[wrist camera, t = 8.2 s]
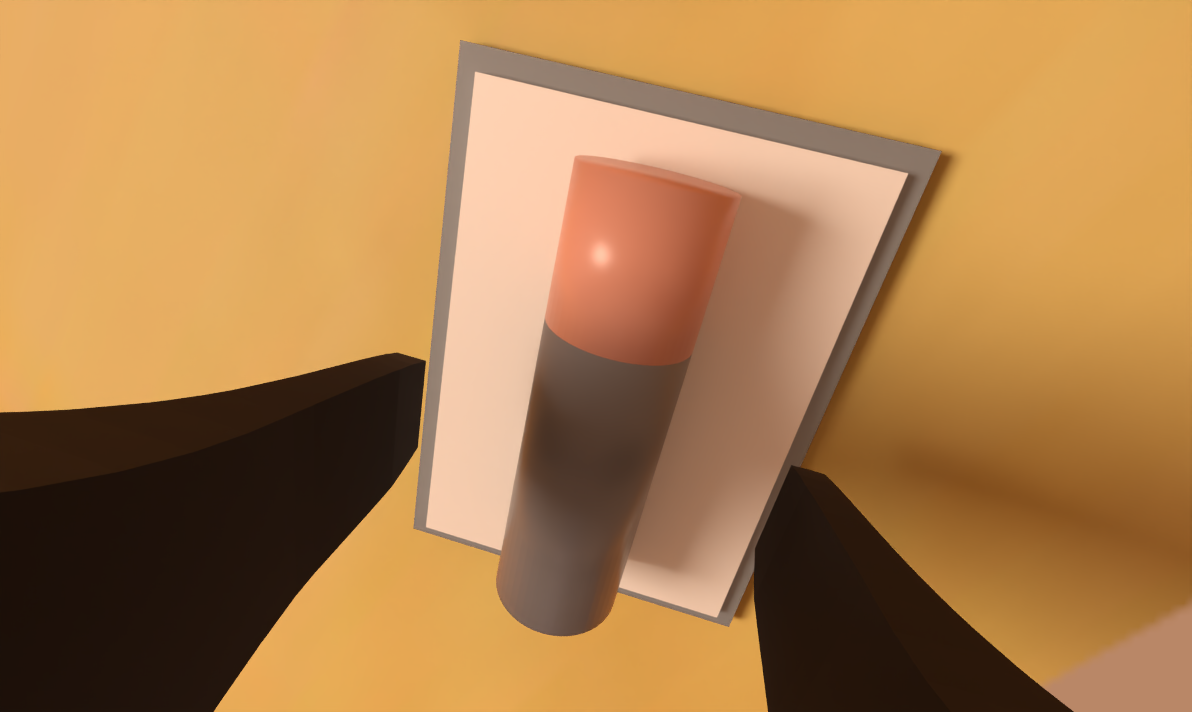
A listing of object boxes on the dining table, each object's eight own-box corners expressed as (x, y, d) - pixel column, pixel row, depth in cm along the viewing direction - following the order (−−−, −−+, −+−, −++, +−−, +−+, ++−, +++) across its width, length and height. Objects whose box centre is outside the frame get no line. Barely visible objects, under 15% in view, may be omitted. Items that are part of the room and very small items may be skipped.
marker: (626, 563, 15) (596, 656, 12) (525, 524, 16) (474, 605, 13) (745, 189, 11) (737, 206, 8) (600, 153, 11) (549, 158, 9)
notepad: (728, 615, 16) (729, 635, 16) (420, 519, 17) (408, 534, 16) (934, 150, 11) (947, 151, 10) (468, 42, 12) (454, 38, 11)
